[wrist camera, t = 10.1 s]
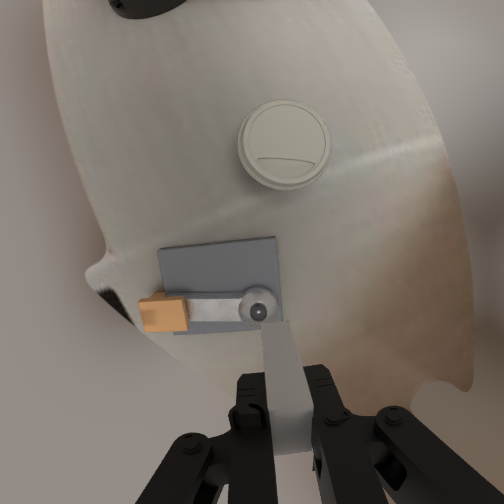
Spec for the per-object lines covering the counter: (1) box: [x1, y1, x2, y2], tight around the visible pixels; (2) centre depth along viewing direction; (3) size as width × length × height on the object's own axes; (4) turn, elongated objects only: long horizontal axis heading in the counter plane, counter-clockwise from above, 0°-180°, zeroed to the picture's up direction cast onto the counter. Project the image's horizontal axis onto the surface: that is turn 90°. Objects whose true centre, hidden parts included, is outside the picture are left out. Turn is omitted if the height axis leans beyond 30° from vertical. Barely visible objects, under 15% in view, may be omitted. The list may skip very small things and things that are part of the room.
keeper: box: [138, 292, 189, 332], centre depth 35 cm, size 4×6×6 cm
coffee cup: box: [237, 100, 331, 191], centre depth 28 cm, size 8×8×12 cm
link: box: [166, 285, 278, 328], centre depth 34 cm, size 14×5×3 cm, turn 91°
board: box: [157, 236, 282, 335], centre depth 37 cm, size 12×15×2 cm
